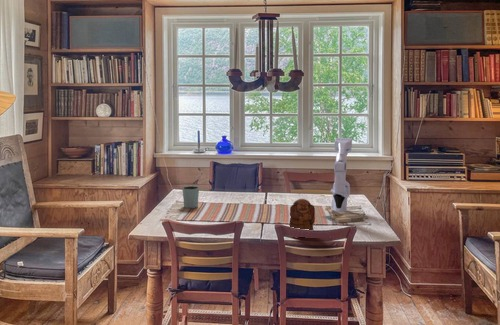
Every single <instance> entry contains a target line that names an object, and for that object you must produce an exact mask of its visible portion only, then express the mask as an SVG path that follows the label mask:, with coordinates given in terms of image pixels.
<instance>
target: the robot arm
mask: <svg viewBox="0 0 500 325" xmlns="http://www.w3.org/2000/svg"><path fill="white" fill-rule="evenodd" d="M352 142H353V139H352V138H351V137H350V138H348V137H346V138H345V137H335V138H334V151H335V152H337V154H336V158H335V162H334V164H333V170H334V182H333V185H332V188H331V189H330V193H331V194H332V198H331V208H330V209H333V210H335V211H336V212H344V211H349V212H351V211H350V210H348V198H349V197H350V193H351V187H350V186H351V184H350V183H349V182H348V181H347V180H346V177H347V176H346V175H347V169H348V167H347V166H348V165H347V163H348V162H347V160H348V154H349V153H351V152H352V148H353V147H352V146H353V143H352Z"/></svg>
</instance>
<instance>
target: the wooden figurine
mask: <svg viewBox="0 0 500 325" xmlns="http://www.w3.org/2000/svg"><path fill="white" fill-rule="evenodd" d="M315 214H316V211H315V205H313V204H311V202H310V201H309V200H307V199H305V198H299V199H297V200H295V201H294V202H293V203H292V205H291V206H290V207H289V217H290V218H289V226H290V227H294V228H300V229H309V230H313V231H314V224H315V221H316V217H315V216H316V215H315ZM289 226H288V227H289ZM290 227H289V228H290Z"/></svg>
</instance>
